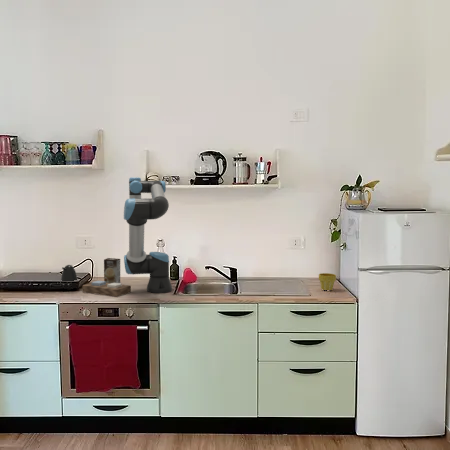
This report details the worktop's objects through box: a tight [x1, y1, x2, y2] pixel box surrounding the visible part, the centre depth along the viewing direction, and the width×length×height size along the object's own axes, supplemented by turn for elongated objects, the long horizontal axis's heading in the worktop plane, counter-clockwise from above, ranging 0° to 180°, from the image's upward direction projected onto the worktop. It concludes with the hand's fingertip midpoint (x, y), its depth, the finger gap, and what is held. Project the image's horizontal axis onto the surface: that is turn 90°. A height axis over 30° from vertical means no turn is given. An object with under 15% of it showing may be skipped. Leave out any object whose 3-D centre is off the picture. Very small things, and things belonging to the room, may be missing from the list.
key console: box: [82, 282, 132, 298], centre depth 308 cm, size 26×13×4 cm, turn 63°
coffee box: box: [103, 257, 121, 284], centre depth 332 cm, size 9×6×16 cm
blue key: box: [91, 280, 106, 286], centre depth 310 cm, size 6×6×3 cm
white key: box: [107, 282, 123, 288], centre depth 305 cm, size 6×6×3 cm
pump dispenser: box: [60, 264, 78, 281], centre depth 314 cm, size 10×10×15 cm
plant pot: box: [318, 272, 337, 291], centre depth 317 cm, size 10×10×10 cm
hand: (135, 238), depth 331 cm, fingers closed
